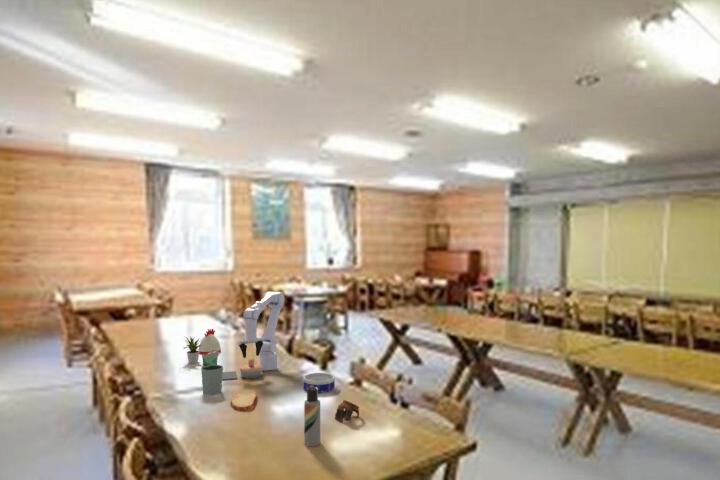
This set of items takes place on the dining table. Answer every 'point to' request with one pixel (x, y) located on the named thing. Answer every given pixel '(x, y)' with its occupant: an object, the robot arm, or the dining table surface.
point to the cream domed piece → (209, 343)
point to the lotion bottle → (312, 418)
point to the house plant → (193, 350)
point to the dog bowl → (319, 382)
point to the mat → (229, 375)
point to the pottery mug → (346, 411)
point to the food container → (210, 358)
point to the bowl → (251, 374)
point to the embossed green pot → (212, 379)
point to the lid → (251, 366)
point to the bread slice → (244, 401)
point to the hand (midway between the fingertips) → (251, 356)
